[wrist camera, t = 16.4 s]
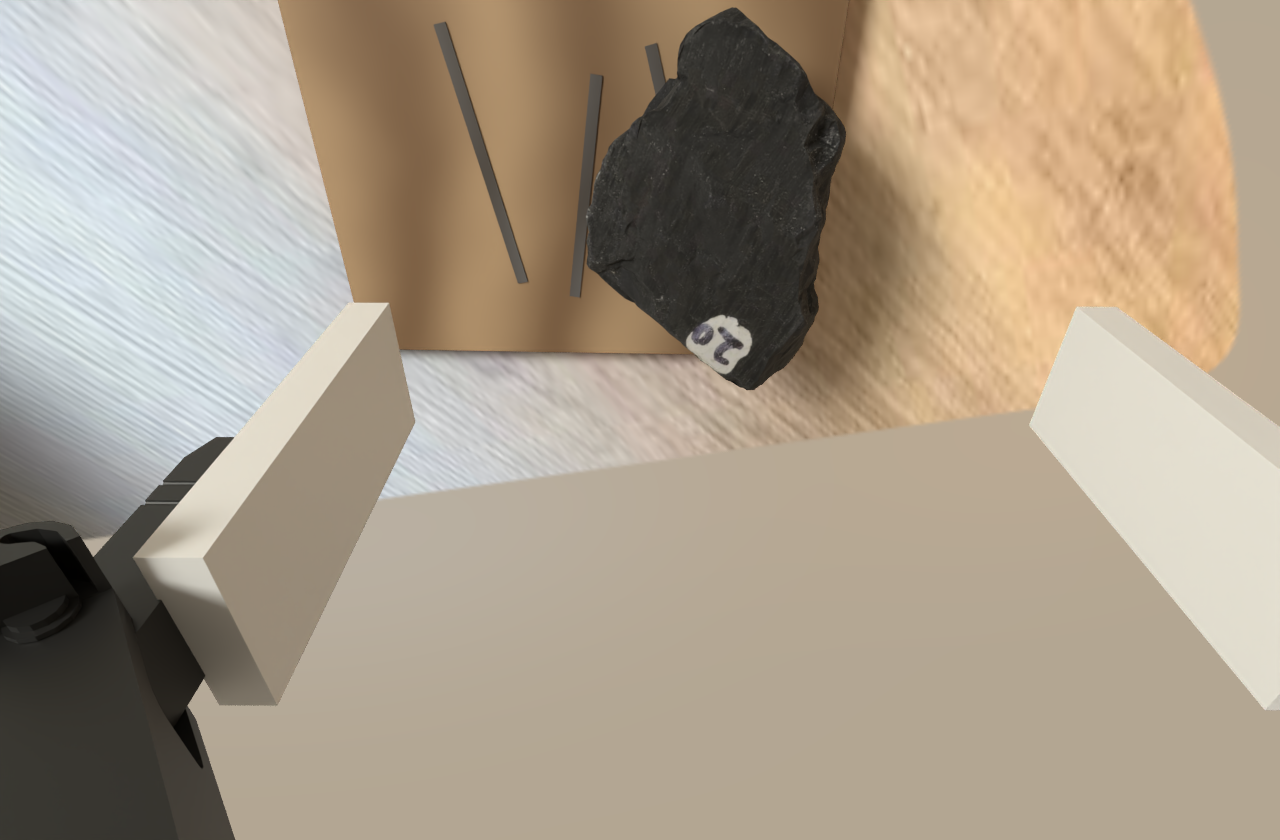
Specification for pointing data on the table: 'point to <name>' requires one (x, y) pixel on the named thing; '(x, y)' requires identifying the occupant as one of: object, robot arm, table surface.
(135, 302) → the table surface
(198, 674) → the robot arm
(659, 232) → the rock
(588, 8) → the board
